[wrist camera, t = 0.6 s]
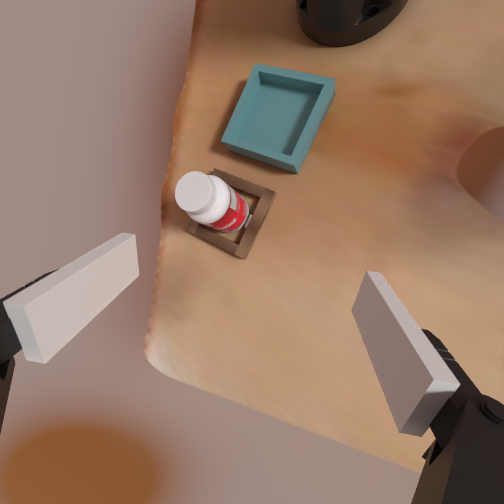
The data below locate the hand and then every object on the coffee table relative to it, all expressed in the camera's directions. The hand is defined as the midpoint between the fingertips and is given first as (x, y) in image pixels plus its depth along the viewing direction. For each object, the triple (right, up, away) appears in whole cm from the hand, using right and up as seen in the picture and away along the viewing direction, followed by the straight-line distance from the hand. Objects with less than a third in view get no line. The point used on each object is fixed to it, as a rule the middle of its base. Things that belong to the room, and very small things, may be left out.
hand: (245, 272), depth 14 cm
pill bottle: (-3, +7, +24) cm, 25 cm away
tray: (+4, +20, +22) cm, 31 cm away
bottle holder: (-3, +7, +24) cm, 25 cm away
